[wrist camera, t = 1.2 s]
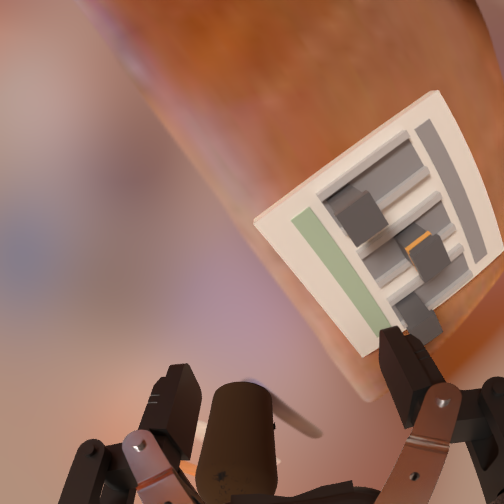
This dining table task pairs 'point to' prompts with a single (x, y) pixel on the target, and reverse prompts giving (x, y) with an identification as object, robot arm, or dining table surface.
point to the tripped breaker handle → (423, 251)
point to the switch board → (387, 225)
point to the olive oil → (238, 445)
